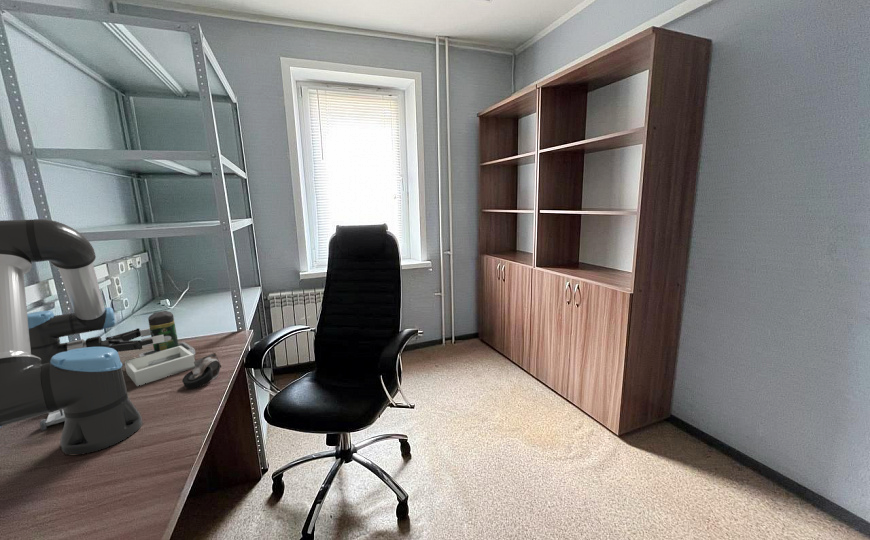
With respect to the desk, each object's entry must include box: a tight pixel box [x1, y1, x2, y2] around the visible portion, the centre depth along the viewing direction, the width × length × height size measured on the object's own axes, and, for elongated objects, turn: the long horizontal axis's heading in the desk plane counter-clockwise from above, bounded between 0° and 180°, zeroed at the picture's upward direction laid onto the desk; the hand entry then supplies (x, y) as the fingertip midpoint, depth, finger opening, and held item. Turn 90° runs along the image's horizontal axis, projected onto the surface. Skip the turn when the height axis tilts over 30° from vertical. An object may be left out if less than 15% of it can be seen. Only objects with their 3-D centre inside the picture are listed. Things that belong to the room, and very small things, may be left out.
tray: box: [124, 346, 196, 387], centre depth 125 cm, size 15×17×5 cm
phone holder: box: [39, 409, 65, 432], centre depth 99 cm, size 18×10×12 cm
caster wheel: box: [182, 352, 222, 390], centre depth 116 cm, size 7×11×10 cm
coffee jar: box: [148, 310, 179, 353], centre depth 136 cm, size 10×8×19 cm
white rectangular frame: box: [138, 341, 196, 366], centre depth 137 cm, size 13×15×2 cm
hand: (162, 333), depth 136 cm, fingers open, 13 cm apart
